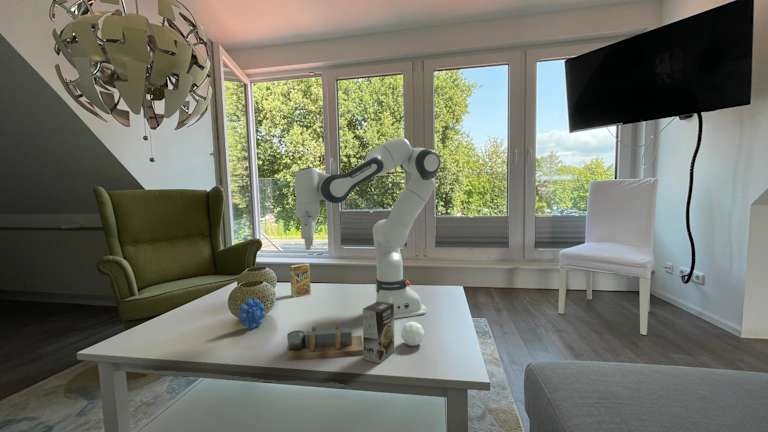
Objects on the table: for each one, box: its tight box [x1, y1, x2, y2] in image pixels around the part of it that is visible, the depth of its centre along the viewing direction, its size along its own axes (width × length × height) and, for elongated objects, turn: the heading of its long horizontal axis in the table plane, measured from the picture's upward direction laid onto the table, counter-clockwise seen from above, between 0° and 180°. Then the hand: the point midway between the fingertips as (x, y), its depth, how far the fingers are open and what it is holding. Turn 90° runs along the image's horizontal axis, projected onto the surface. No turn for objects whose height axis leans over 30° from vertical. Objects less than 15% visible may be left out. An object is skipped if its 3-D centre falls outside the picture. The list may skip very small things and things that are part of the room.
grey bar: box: [287, 327, 353, 351], centre depth 117 cm, size 21×6×4 cm, turn 97°
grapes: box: [238, 298, 266, 330], centre depth 135 cm, size 12×7×12 cm, turn 148°
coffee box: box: [362, 301, 395, 364], centre depth 112 cm, size 9×6×16 cm
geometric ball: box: [400, 321, 425, 347], centre depth 119 cm, size 8×8×8 cm
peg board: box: [285, 324, 364, 361], centre depth 117 cm, size 24×11×6 cm, turn 97°
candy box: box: [289, 263, 311, 298], centre depth 177 cm, size 9×4×15 cm, turn 126°
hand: (309, 247), depth 134 cm, fingers open, 8 cm apart
